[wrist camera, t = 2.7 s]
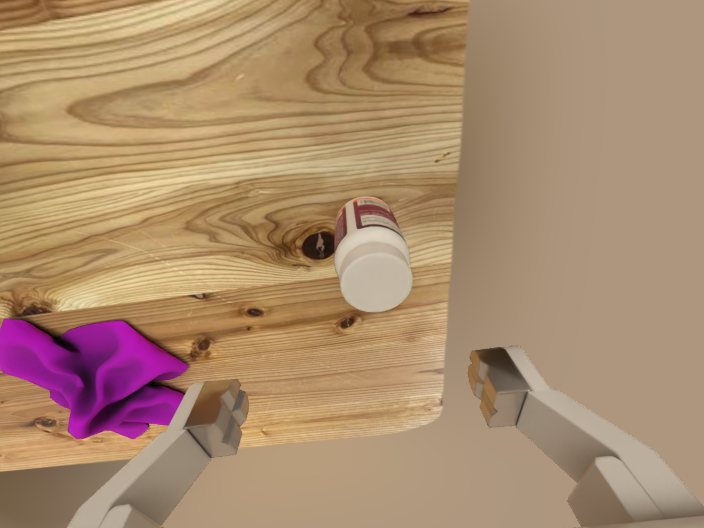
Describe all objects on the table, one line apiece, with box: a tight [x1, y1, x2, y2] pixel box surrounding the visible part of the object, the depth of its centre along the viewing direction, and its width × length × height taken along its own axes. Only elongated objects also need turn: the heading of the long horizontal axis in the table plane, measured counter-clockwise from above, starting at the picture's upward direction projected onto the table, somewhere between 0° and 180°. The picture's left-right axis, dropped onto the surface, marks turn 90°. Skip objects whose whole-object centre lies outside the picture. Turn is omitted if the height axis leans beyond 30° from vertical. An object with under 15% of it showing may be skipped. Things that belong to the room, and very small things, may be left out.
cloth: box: [0, 319, 188, 439], centre depth 29 cm, size 22×19×6 cm
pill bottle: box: [334, 196, 413, 312], centre depth 19 cm, size 5×5×8 cm
